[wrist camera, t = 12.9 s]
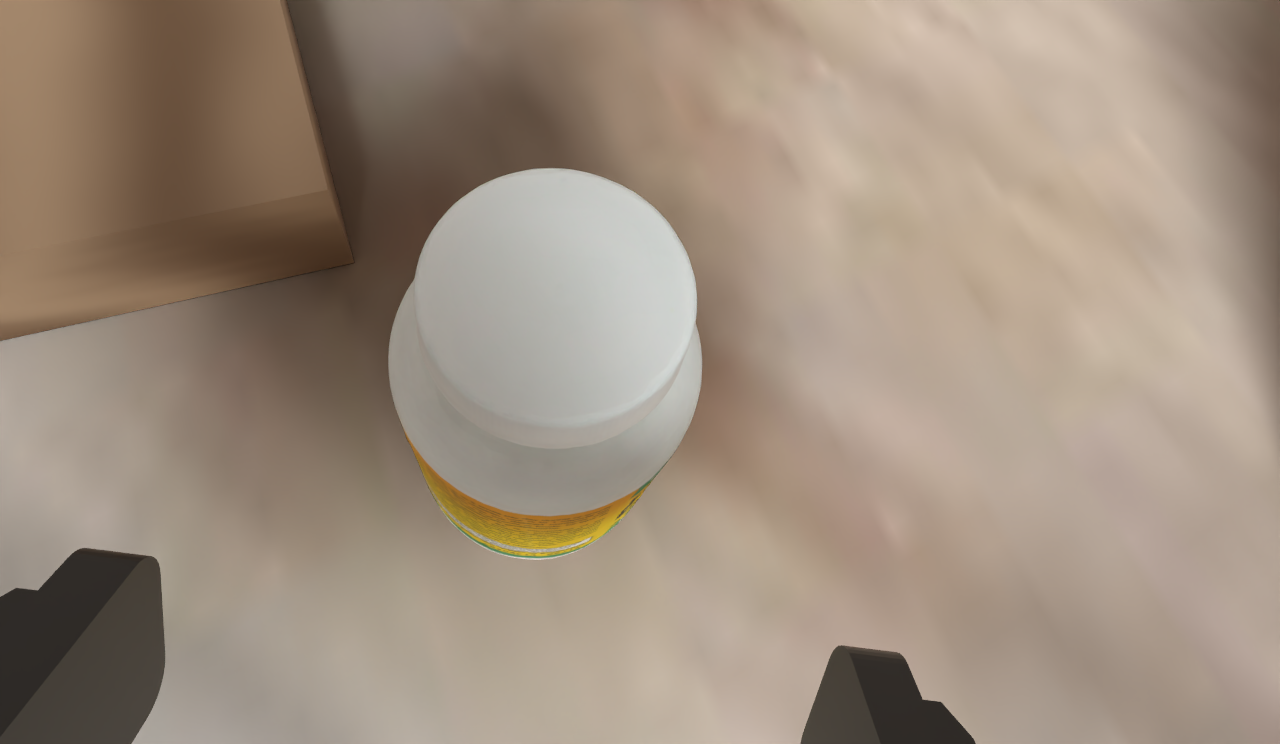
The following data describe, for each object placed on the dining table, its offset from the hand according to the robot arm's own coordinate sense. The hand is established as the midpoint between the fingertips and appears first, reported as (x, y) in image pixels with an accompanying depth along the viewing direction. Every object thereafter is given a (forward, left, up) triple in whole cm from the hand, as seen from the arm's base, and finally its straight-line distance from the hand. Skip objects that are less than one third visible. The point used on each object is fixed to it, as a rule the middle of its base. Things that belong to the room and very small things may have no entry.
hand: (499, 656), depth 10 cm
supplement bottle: (-2, -4, -10) cm, 11 cm away
